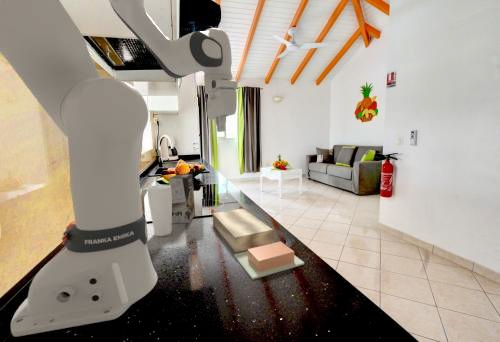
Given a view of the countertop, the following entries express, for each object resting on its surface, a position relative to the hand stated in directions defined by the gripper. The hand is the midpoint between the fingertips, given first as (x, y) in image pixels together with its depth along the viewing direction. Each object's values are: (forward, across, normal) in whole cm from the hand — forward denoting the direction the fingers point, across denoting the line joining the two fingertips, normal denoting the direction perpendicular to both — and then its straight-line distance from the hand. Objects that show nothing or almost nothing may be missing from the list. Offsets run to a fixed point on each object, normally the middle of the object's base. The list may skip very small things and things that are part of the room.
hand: (221, 131), depth 77 cm
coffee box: (+31, -12, -12) cm, 36 cm away
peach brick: (+30, +29, +2) cm, 42 cm away
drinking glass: (+31, -1, -20) cm, 37 cm away
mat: (+31, +28, +1) cm, 42 cm away
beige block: (+31, +10, +1) cm, 33 cm away
